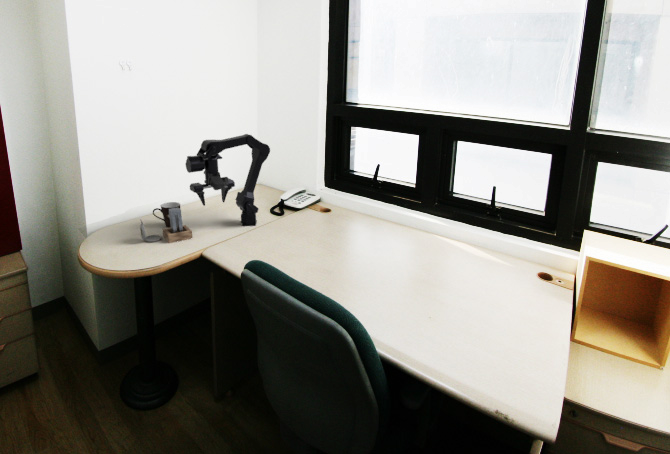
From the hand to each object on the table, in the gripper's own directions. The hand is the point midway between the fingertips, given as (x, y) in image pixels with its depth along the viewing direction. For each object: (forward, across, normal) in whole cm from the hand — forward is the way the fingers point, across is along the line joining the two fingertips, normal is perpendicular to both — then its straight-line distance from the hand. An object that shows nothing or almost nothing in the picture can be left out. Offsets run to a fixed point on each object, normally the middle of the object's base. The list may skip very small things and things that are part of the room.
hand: (213, 203), depth 200 cm
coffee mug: (+13, -14, +20) cm, 28 cm away
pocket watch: (+13, -28, +6) cm, 31 cm away
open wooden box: (+13, -17, +2) cm, 21 cm away
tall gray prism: (+12, -17, +2) cm, 21 cm away
